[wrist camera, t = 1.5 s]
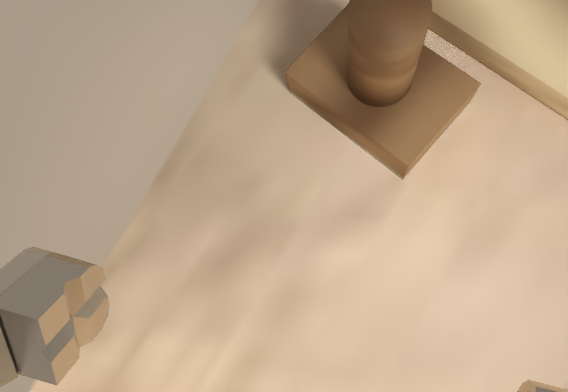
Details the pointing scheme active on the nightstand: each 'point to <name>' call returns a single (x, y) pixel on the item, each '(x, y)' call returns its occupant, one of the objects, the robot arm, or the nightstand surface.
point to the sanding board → (513, 41)
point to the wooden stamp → (382, 81)
